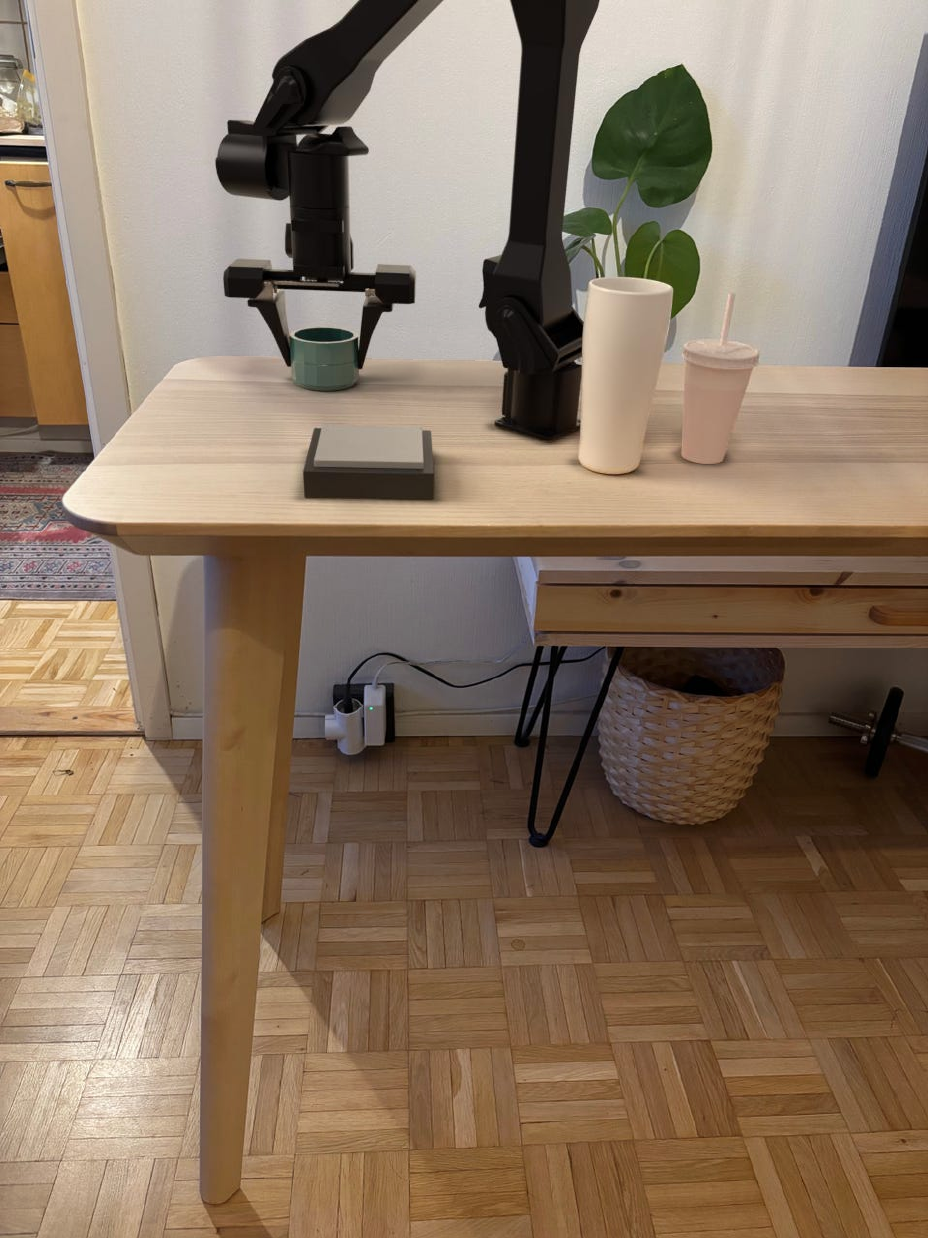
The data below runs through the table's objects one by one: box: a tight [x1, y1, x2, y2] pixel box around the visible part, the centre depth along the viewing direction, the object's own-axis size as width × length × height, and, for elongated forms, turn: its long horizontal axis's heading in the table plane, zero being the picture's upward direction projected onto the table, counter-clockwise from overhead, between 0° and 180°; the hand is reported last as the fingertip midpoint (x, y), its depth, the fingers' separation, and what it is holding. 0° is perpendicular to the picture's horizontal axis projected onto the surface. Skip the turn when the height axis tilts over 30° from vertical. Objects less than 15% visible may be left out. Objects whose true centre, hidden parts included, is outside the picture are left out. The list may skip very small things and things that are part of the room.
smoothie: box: [680, 292, 761, 465], centre depth 79 cm, size 6×6×14 cm
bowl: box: [289, 326, 360, 392], centre depth 96 cm, size 7×7×5 cm
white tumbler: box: [577, 276, 674, 475], centre depth 76 cm, size 7×7×15 cm
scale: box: [302, 423, 435, 500], centre depth 75 cm, size 10×10×3 cm
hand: (325, 366), depth 97 cm, fingers closed on bowl, 7 cm apart
